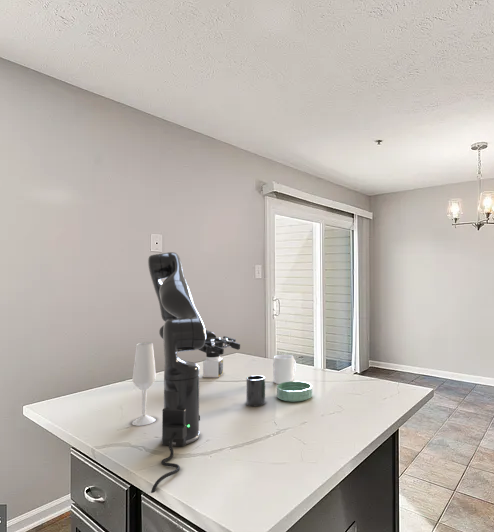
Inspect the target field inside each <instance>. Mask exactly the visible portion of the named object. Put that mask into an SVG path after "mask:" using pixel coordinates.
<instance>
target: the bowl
mask: <svg viewBox="0 0 494 532" xmlns="http://www.w3.org/2000/svg"><path fill="white" fill-rule="evenodd" d="M312 397H313V384H312V383H311V382H307V381H302V380H294V381H289V382H284V383H280V384H276V398H277V399H279V400H281V401H284V402H292V403H296V402H303V401H306V400H308V399H311V398H312Z"/></svg>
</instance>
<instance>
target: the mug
mask: <svg viewBox="0 0 494 532" xmlns="http://www.w3.org/2000/svg"><path fill="white" fill-rule="evenodd" d="M272 361H273V364H272V366H273V369H272V370H273V376H272V377H273V379H272V381H273V383H274V384H276V385H278V384H280V383H284V382H289V381H295V375H296V372H297V361H296V359H295V356H294V355H293V354H284V353H283V354H276V355H273V360H272Z"/></svg>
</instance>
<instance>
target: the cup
mask: <svg viewBox="0 0 494 532" xmlns="http://www.w3.org/2000/svg"><path fill="white" fill-rule="evenodd" d="M245 387H246V390H245V391H246V392H245V393H246V394H245V395H246V400H245V401H246V406H248V407H261V406H263V405H265V403H266V377H265V376H264V375H257V374H256V375H249V376H247V377H246V385H245Z"/></svg>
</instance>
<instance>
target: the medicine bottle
mask: <svg viewBox="0 0 494 532" xmlns="http://www.w3.org/2000/svg"><path fill="white" fill-rule="evenodd" d="M205 354H206V355H205V356H206V357H205V358H206V359H204V360H203V362H202V378H220V377H221V376H222V375H223V374H224V358H223V357H221V355H220V354H218V353H215V352H214V353H212V352H210V353H205Z"/></svg>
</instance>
